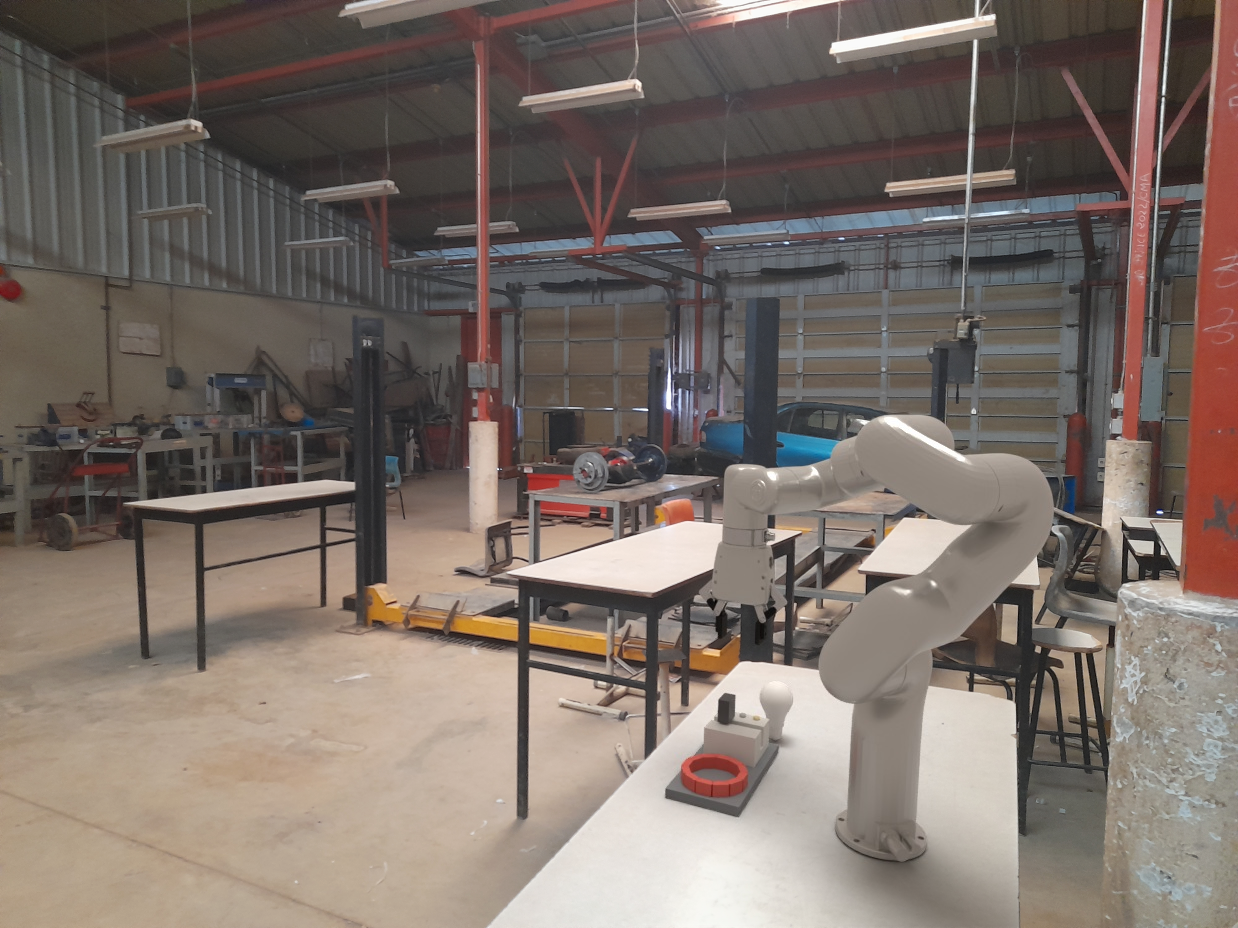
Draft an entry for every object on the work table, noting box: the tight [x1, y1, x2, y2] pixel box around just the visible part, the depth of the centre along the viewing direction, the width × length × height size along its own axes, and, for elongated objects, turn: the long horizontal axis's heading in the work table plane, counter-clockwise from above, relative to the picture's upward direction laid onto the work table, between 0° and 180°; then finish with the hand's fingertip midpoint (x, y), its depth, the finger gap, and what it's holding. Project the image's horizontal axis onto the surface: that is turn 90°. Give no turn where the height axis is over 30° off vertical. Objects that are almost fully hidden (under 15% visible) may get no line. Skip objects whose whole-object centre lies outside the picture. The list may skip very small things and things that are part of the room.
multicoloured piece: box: [664, 711, 780, 817], centre depth 131 cm, size 24×12×7 cm, turn 154°
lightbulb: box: [759, 680, 794, 741], centre depth 144 cm, size 6×6×11 cm
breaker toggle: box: [717, 692, 737, 724], centre depth 137 cm, size 4×2×7 cm, turn 154°
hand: (740, 638), depth 135 cm, fingers open, 6 cm apart
